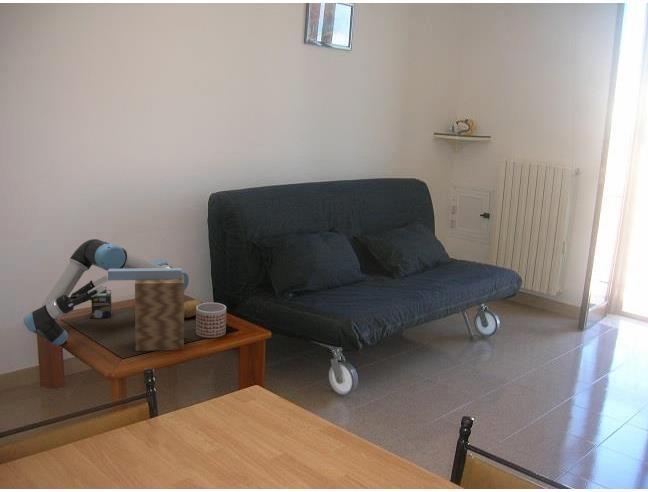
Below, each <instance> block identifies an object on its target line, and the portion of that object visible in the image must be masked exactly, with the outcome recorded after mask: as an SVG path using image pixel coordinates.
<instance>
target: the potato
mask: <svg viewBox="0 0 648 492" xmlns="http://www.w3.org/2000/svg"><path fill="white" fill-rule="evenodd" d="M200 304H202V303H201V301H199V300H197V299H193V300H192V299H191V300H187V301H184V319H185V318H186V319H189V318H193V317H194V316H195V317H196V307H197V306H198V305H200Z"/></svg>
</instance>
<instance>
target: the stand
mask: <svg viewBox="0 0 648 492" xmlns="http://www.w3.org/2000/svg"><path fill="white" fill-rule="evenodd" d="M184 302H185V290H184V274H181V279H174V280H134V313H135V314H134V318H135V319H134V321H135V322H134V323H135V325H134V326H135V327H134V328H135V351H136V352H145V351H148V352H149V351H172V350H173V351H175V350H176V351H177V350H185V347H184V346H185V343H184V342H185V340H184V339H185V326H184V325H185V317H184Z"/></svg>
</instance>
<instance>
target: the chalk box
mask: <svg viewBox="0 0 648 492" xmlns="http://www.w3.org/2000/svg"><path fill="white" fill-rule="evenodd" d="M105 288H106V290H104V291H102V292H101V293H99V294H97V295H95V296H93V297H91V298H92V300H90V301H91V302H90V303H91V318H92V319H109V318H112V315H113V308H112V307H113V304H112V291H111V289H107V286H105Z"/></svg>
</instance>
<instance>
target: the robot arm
mask: <svg viewBox="0 0 648 492" xmlns="http://www.w3.org/2000/svg"><path fill="white" fill-rule="evenodd" d="M92 266H95V267H97V268H99V269H100V268H101V269H103V271H107V272H108V270H109V269H131V268H175V267H173V266H171V265H169V262H168V261H167V260H161V259H160V260H152V261H148V260H145V259H143V258H140V257H137V256H136V255H132V254H131V253H130V254H129V253H128V252H127V250H126V248H123V247H120V246H119V245H117V244H114V243H110V242H107V241H103V240H100V239H96V238H95V239H94V238H93V239H88V240H86V241H84V242H83V243H82V244H80V245H79V246H78V247H77V248H76V249H75V251H74V252H73V253H72V254H71V256H70V258H69V263H68V265H67V266H66V267H65V269H64V270H63V272H62V274H61V275H60V277H59V278H58V280H57V281H56V282H55V284H54V286H53V287H52V288H51V290H50V292H49V293H48V294H47V296H46V298H45V299H44V300H43V302H42V303H41V305H40V306H39V308H37V309H36V310H35V309H34V310H33V311H31V312H29V313H28V314H26V315H25V316H24V317H23V323H24V326H25V328H26V329H27V330H28V331H29V332H32V333H34V334H37V335H39V337H42V338H43V339H46V340H48V341H49V343H50V344H52V345H53V346H63V344H64V343H65V342H67V340H68V338H69V334H68V332H67V331H66V330H65V328H63V326H62V325H60V323H58V321H57V320H58V319H59V318H61V317H63V316H65V314H66V315H67V314H68V313H70V312H72V311H74V308H75V307H76V306H78V305H81V304H83V303H86V302H89V301H91V300H92V298H91V297H93V296H95V295H97V294H99V293H101V292H102V291H104V290H107V287H106V286H105V285H104V284H105V283H107V282H109V281H108V274H104V275H102V276H100V277H98V278H97V279H95V280H89V282H88V283H86V284H85V285H84V286H82V287H80V288H78V289H77V290H76V291H74V292H73V290H74V288H75V287H76V286H77V283H78V282H79V281H80V279H81V278H82V277H83V276H84V273H85V272H86V271H89V270H90V268H91V267H92ZM181 274H184V291H185V290H187V288H188V285H189V282H190V278H189V274H188V273H187V272H186V271H185V270H184V269H181ZM105 287H106V288H105Z"/></svg>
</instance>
